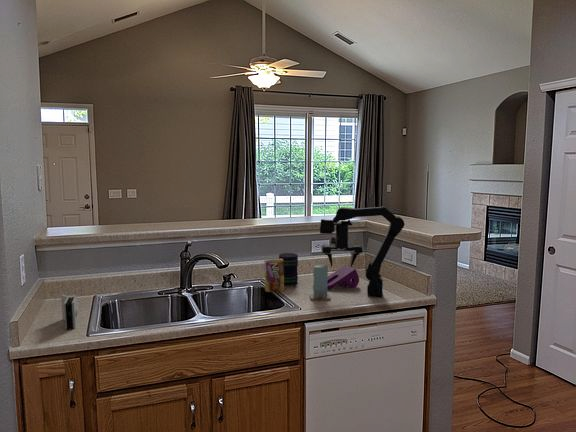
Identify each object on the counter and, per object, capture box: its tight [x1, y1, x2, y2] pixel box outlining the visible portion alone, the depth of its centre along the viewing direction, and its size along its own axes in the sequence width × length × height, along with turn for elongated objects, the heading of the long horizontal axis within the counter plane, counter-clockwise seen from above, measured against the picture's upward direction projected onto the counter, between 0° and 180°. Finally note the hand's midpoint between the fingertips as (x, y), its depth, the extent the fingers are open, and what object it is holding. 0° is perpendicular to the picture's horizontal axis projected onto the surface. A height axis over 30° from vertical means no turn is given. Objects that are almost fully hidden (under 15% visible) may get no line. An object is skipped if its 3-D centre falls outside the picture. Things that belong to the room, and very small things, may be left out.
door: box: [312, 265, 329, 297], centre depth 201 cm, size 6×3×14 cm, turn 92°
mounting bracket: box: [327, 264, 360, 291], centre depth 221 cm, size 9×8×18 cm
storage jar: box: [278, 252, 299, 287], centre depth 226 cm, size 10×10×15 cm
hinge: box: [60, 294, 79, 331], centre depth 169 cm, size 14×5×10 cm, turn 31°
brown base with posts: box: [309, 290, 332, 302], centre depth 202 cm, size 9×6×4 cm
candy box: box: [264, 258, 285, 293], centre depth 213 cm, size 9×4×15 cm, turn 104°
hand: (341, 267), depth 208 cm, fingers open, 9 cm apart
